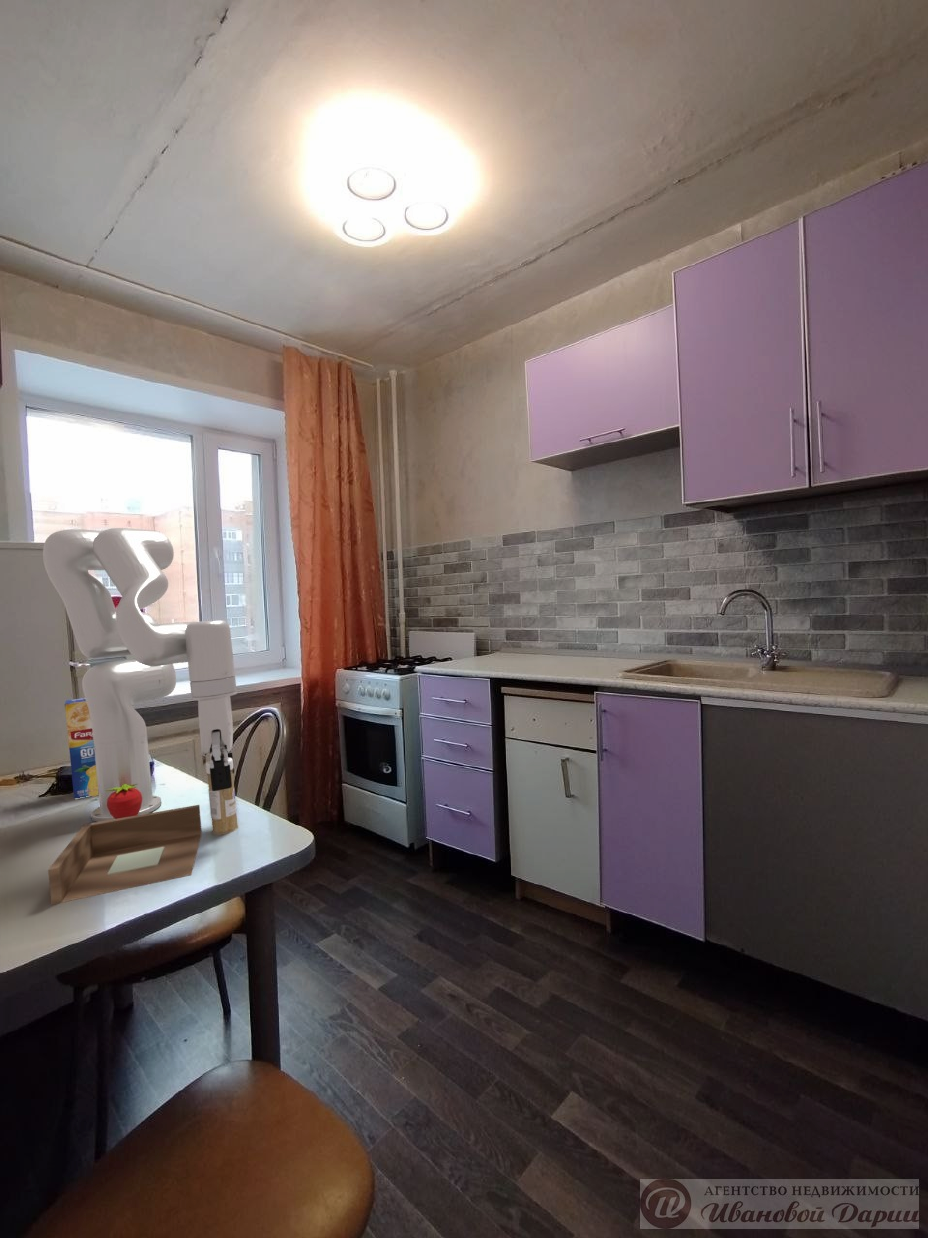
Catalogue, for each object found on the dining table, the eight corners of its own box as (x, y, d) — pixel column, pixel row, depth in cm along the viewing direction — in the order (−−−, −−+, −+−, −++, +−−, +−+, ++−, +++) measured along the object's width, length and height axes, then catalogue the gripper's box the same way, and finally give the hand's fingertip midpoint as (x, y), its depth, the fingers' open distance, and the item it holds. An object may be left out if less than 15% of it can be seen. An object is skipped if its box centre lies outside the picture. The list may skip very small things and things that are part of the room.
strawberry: (110, 839, 104) (105, 786, 104) (108, 827, 110) (103, 776, 110) (147, 830, 108) (142, 778, 107) (142, 818, 114) (138, 769, 113)
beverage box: (129, 788, 134) (121, 696, 133) (73, 800, 128) (64, 704, 127) (128, 781, 140) (120, 693, 139) (74, 792, 134) (65, 700, 133)
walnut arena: (87, 856, 97) (84, 824, 97) (201, 834, 103) (199, 804, 103) (51, 908, 80) (48, 869, 80) (191, 878, 87) (188, 842, 86)
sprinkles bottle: (241, 832, 103) (234, 760, 103) (214, 840, 101) (207, 765, 100) (235, 825, 107) (229, 755, 106) (209, 832, 105) (203, 760, 104)
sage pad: (117, 856, 95) (117, 855, 95) (164, 847, 97) (164, 846, 97) (107, 875, 88) (107, 873, 88) (157, 865, 91) (157, 863, 91)
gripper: (196, 686, 109) (205, 774, 110) (185, 697, 93) (196, 800, 94) (237, 681, 112) (246, 766, 113) (234, 691, 96) (244, 790, 96)
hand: (223, 781), depth 103 cm, fingers open, 9 cm apart
